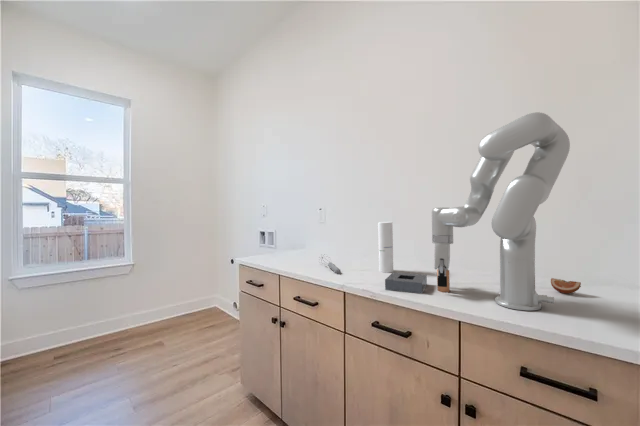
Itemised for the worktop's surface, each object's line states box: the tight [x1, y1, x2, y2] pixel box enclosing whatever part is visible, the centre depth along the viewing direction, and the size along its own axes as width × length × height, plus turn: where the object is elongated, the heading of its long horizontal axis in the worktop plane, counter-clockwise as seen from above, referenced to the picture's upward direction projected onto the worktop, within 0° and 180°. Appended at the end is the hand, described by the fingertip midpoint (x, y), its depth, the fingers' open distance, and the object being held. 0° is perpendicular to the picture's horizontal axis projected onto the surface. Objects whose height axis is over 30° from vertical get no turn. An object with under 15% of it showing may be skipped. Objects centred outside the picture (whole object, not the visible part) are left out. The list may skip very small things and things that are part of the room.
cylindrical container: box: [377, 221, 394, 274], centre depth 150 cm, size 7×7×25 cm
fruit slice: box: [550, 277, 582, 295], centre depth 106 cm, size 8×7×5 cm
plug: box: [436, 269, 451, 293], centre depth 114 cm, size 4×4×8 cm
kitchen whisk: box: [318, 254, 342, 275], centre depth 160 cm, size 6×34×6 cm, turn 15°
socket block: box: [384, 271, 428, 294], centre depth 120 cm, size 14×14×4 cm
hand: (443, 283), depth 114 cm, fingers open, 9 cm apart
